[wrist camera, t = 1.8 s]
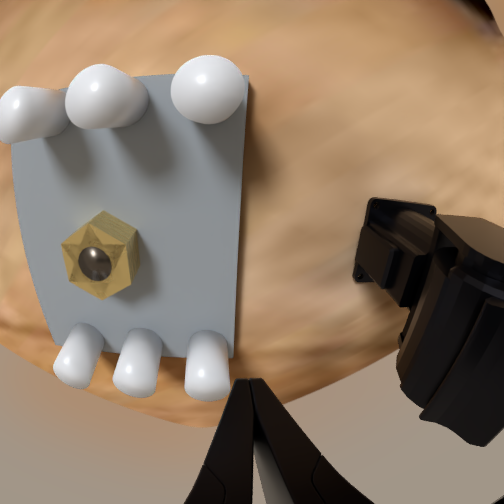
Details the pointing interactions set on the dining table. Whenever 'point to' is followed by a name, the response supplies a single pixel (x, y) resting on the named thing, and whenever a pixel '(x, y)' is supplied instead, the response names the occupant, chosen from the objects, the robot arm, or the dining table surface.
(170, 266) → the board
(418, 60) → the dining table surface
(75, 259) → the nut
